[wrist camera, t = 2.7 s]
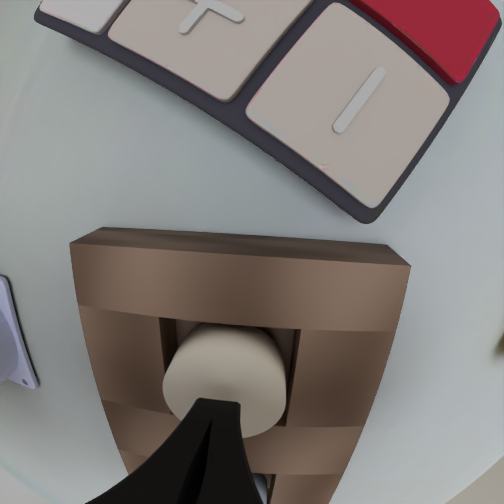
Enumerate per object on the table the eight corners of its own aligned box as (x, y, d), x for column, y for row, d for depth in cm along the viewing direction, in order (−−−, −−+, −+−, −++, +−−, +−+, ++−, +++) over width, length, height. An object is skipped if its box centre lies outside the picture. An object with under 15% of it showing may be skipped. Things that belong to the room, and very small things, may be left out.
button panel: (169, 523, 21) (163, 543, 19) (102, 227, 13) (69, 242, 10) (296, 536, 20) (296, 557, 18) (386, 245, 12) (410, 265, 10)
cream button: (180, 399, 13) (169, 430, 11) (173, 314, 12) (156, 342, 10) (279, 409, 13) (279, 442, 11) (290, 324, 12) (293, 355, 10)
